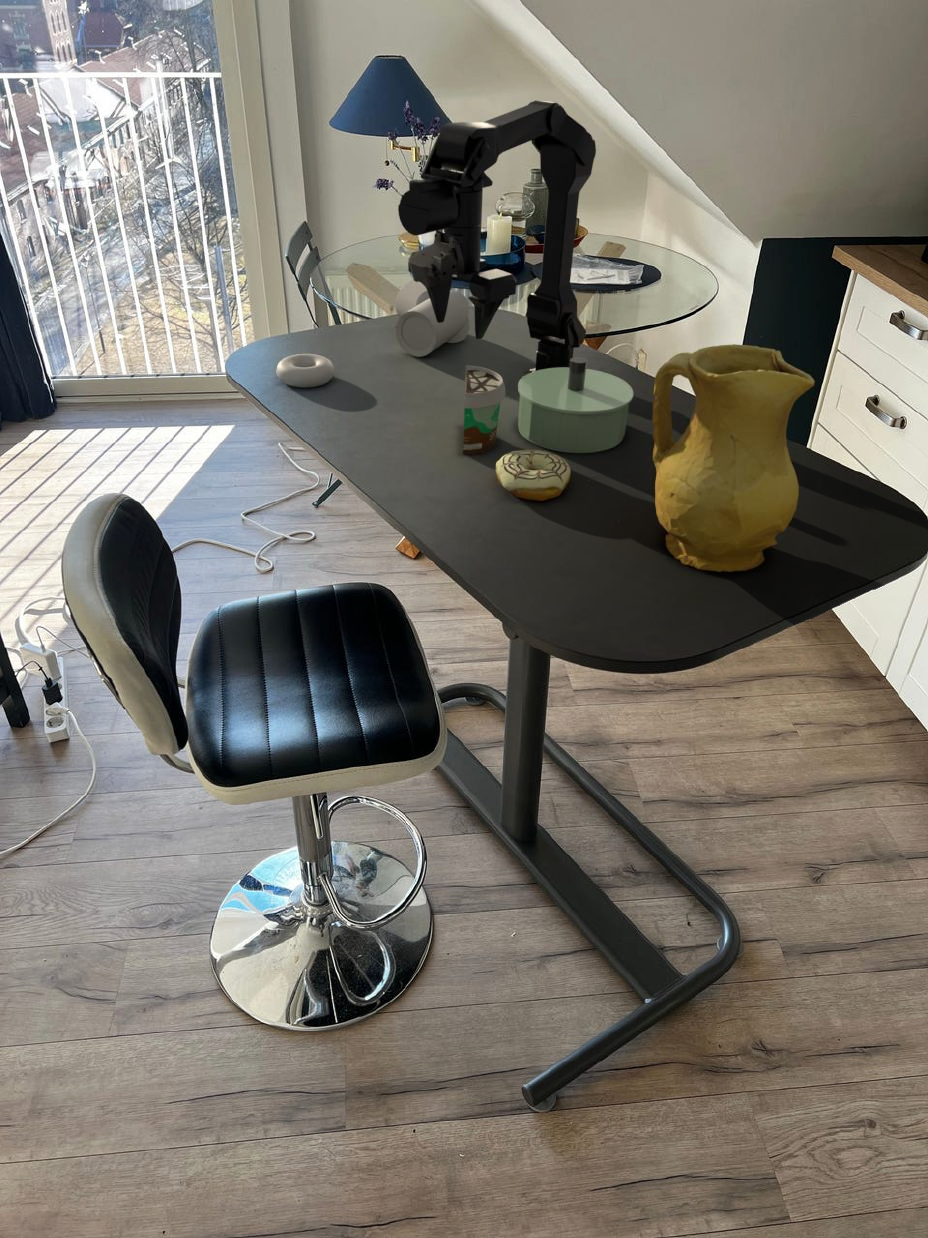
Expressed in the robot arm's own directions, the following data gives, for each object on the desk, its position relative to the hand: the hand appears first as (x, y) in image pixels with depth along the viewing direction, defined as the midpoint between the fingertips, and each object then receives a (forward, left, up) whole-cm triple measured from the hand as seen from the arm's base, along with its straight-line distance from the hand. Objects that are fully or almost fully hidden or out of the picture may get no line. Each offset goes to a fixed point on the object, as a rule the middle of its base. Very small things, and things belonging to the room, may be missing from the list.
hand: (459, 330), depth 141 cm
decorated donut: (+9, +25, -14) cm, 30 cm away
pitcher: (+3, +51, -14) cm, 53 cm away
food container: (+4, +10, -14) cm, 18 cm away
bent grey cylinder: (-20, -30, -14) cm, 39 cm away
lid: (-10, +16, -8) cm, 20 cm away
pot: (-10, +16, -14) cm, 24 cm away
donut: (+10, -28, -14) cm, 33 cm away
